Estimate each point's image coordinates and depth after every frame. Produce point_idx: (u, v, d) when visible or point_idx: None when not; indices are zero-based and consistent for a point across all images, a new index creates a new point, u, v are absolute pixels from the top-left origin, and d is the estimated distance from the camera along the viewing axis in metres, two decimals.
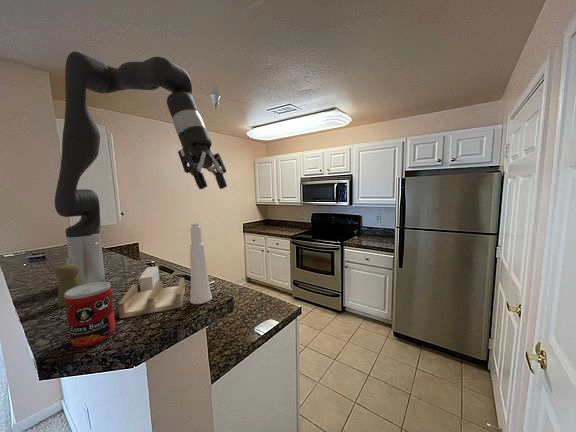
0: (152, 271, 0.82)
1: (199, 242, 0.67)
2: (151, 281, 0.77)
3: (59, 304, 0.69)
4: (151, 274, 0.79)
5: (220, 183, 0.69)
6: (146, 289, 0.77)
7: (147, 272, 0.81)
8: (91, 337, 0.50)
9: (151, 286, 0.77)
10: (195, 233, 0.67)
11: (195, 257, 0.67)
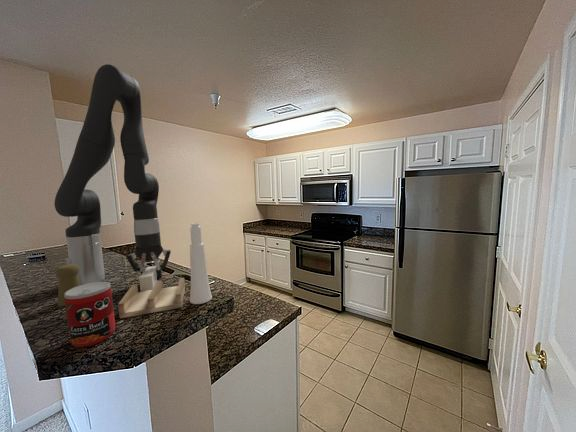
0: (152, 270, 0.82)
1: (199, 242, 0.67)
2: (151, 280, 0.77)
3: (59, 304, 0.69)
4: (151, 273, 0.79)
5: (157, 276, 0.86)
6: (146, 288, 0.77)
7: (147, 271, 0.81)
8: (91, 337, 0.50)
9: (151, 285, 0.77)
10: (195, 233, 0.67)
11: (195, 257, 0.67)
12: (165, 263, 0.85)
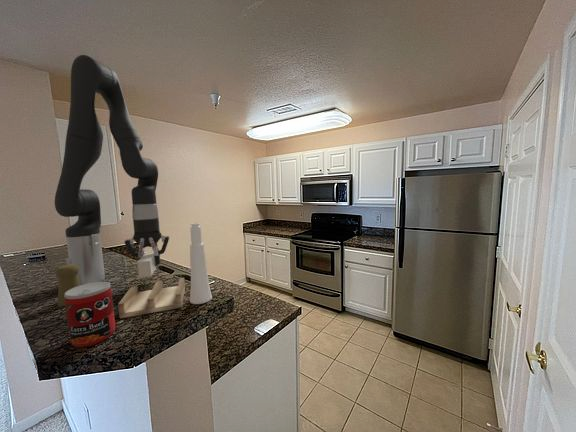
0: (150, 256, 0.82)
1: (199, 242, 0.67)
2: (149, 265, 0.77)
3: (59, 304, 0.69)
4: (149, 258, 0.79)
5: None
6: (144, 273, 0.77)
7: (145, 257, 0.81)
8: (91, 337, 0.50)
9: (149, 270, 0.77)
10: (195, 233, 0.67)
11: (195, 257, 0.67)
12: (163, 249, 0.85)
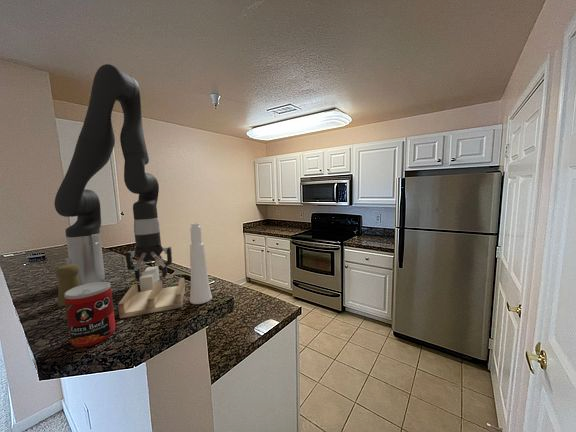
0: (152, 271, 0.82)
1: (199, 242, 0.67)
2: (151, 281, 0.77)
3: (59, 304, 0.69)
4: (151, 274, 0.79)
5: None
6: (146, 289, 0.77)
7: (147, 272, 0.82)
8: (91, 337, 0.50)
9: (151, 286, 0.77)
10: (195, 233, 0.67)
11: (195, 257, 0.67)
12: (170, 260, 0.86)
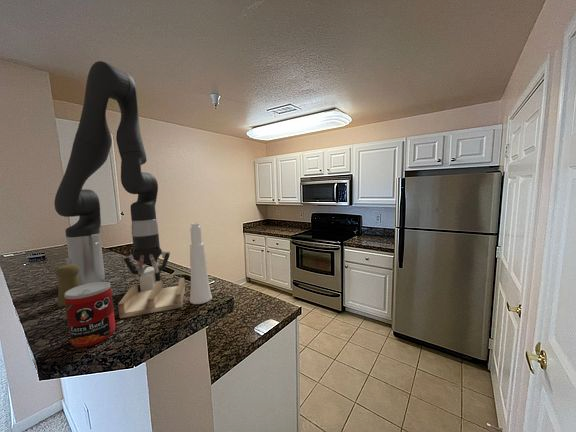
0: (152, 270, 0.82)
1: (199, 242, 0.67)
2: (151, 280, 0.77)
3: (59, 304, 0.69)
4: (151, 273, 0.79)
5: None
6: (146, 288, 0.77)
7: (147, 271, 0.81)
8: (91, 337, 0.50)
9: (151, 285, 0.77)
10: (195, 233, 0.67)
11: (195, 257, 0.67)
12: (164, 266, 0.82)
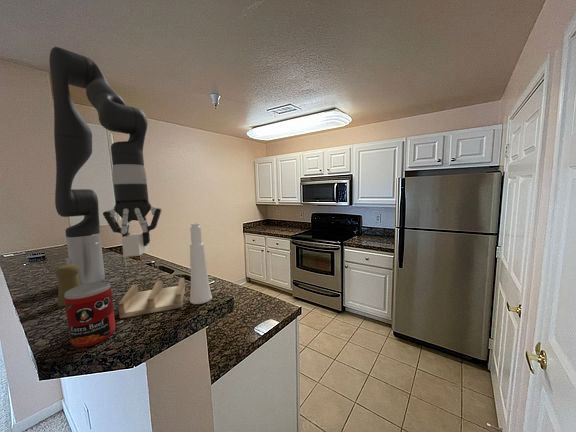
0: None
1: (199, 242, 0.67)
2: (137, 241, 0.61)
3: (59, 304, 0.69)
4: None
5: None
6: (130, 251, 0.61)
7: (133, 234, 0.66)
8: (91, 337, 0.50)
9: (137, 248, 0.61)
10: (195, 233, 0.67)
11: (195, 257, 0.67)
12: (154, 224, 0.67)
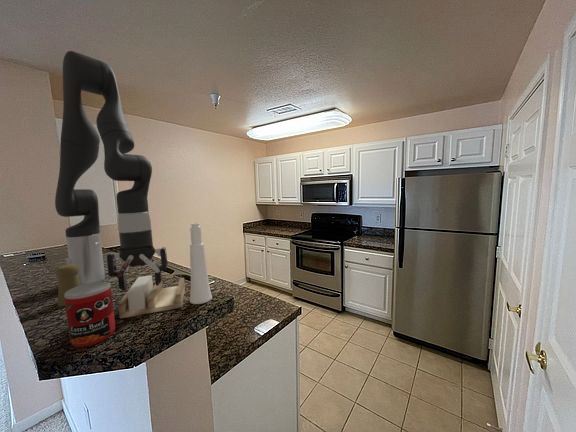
0: (144, 282, 0.68)
1: (199, 242, 0.67)
2: (142, 295, 0.63)
3: (59, 304, 0.69)
4: (142, 286, 0.65)
5: None
6: (136, 305, 0.62)
7: (138, 283, 0.67)
8: (91, 337, 0.50)
9: (142, 301, 0.63)
10: (195, 233, 0.67)
11: (195, 257, 0.67)
12: (166, 264, 0.69)
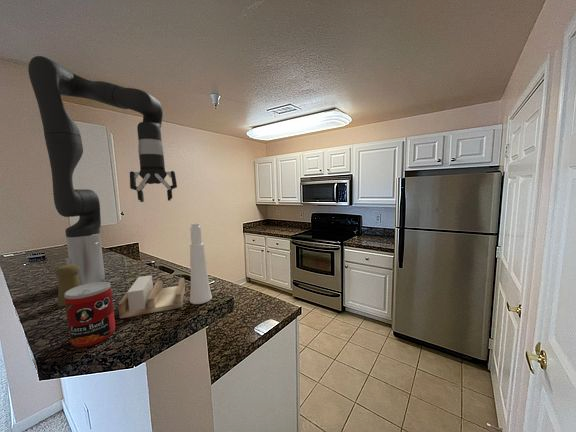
0: (144, 282, 0.68)
1: (199, 242, 0.67)
2: (142, 295, 0.63)
3: (59, 304, 0.69)
4: (142, 286, 0.65)
5: None
6: (136, 305, 0.62)
7: (138, 283, 0.67)
8: (91, 337, 0.50)
9: (142, 301, 0.63)
10: (195, 233, 0.67)
11: (195, 257, 0.67)
12: (175, 183, 0.87)
